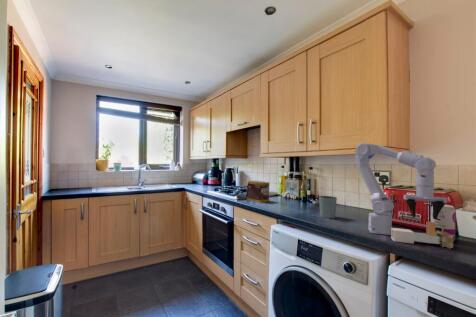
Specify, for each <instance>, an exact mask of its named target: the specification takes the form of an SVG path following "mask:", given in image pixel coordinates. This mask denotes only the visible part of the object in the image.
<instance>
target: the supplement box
mask: <svg viewBox="0 0 476 317" xmlns="http://www.w3.org/2000/svg"><path fill="white" fill-rule="evenodd" d="M246 184H247V186H246V188H247V191H246V200H247V201H250V202H256V203H264V202H265V203H266V202H269V201H270V198H269V197H270V182H269V181H262V180H247V183H246Z"/></svg>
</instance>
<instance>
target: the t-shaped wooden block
mask: <svg viewBox="0 0 476 317" xmlns="http://www.w3.org/2000/svg"><path fill="white" fill-rule="evenodd" d="M425 225H426V226H425V227H426V228H425V231H426V232H415V231H413V232H414V242H417V243H427V244H434V245H435V244H436V245H438V244H442V236H441V235H435V223H433V222H431V221H427V220H426V224H425Z"/></svg>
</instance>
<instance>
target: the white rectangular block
mask: <svg viewBox="0 0 476 317" xmlns="http://www.w3.org/2000/svg"><path fill="white" fill-rule="evenodd" d="M414 232H415V231H413V230H411V229H408V228H407V229H406V228H399V227H397V228H396V227H392V228H391V235H390V237H391V240H392V241H393V242H398V243H407V244H413V245H414V244H415V241H414Z"/></svg>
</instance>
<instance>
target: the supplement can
mask: <svg viewBox="0 0 476 317" xmlns="http://www.w3.org/2000/svg"><path fill="white" fill-rule="evenodd" d="M430 209H431V210H430V211H431V212H430V222H433V223H435V235H436V231H442V232H447V233H448V234H450V235H452V236H453V241H455V240H456V208H455V207H454V206H453V205H450V204H445V205H444V207H443V208H442V209H441V211H440V212H439V215H438V217H437V219H433V205H432V206H431V208H430Z"/></svg>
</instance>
